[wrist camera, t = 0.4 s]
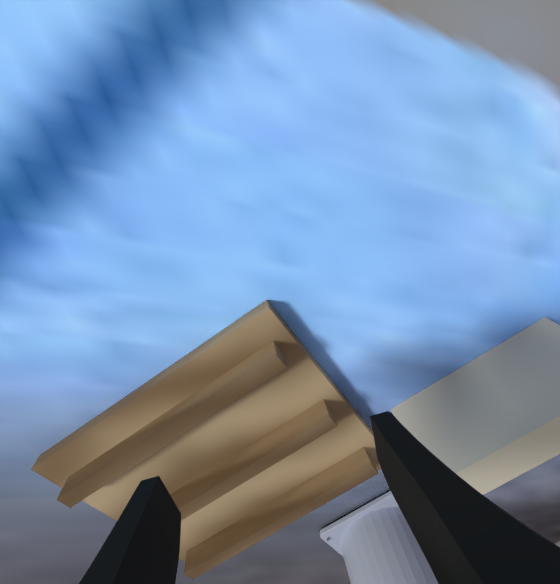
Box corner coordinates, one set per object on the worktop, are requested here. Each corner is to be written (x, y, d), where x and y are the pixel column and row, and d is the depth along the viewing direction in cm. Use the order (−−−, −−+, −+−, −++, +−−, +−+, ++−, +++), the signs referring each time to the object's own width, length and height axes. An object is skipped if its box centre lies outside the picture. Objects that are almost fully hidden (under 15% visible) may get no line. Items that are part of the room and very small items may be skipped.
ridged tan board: (387, 450, 25) (402, 479, 23) (202, 557, 28) (199, 594, 26) (266, 299, 19) (271, 320, 17) (39, 455, 21) (16, 492, 19)
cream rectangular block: (553, 345, 24) (650, 405, 18) (406, 431, 25) (454, 510, 20) (542, 316, 22) (642, 370, 17) (389, 408, 24) (435, 484, 19)
